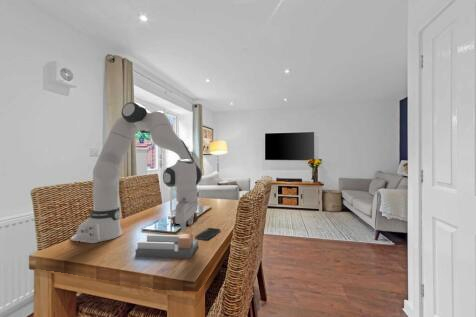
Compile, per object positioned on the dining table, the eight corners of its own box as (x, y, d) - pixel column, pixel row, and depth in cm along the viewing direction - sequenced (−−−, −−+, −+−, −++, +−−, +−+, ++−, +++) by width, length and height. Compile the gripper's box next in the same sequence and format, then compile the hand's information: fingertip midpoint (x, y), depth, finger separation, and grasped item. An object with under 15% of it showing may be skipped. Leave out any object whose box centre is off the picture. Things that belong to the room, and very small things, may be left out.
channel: (135, 256, 86) (135, 244, 86) (149, 244, 98) (149, 233, 98) (190, 257, 85) (190, 245, 85) (197, 245, 97) (197, 234, 97)
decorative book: (197, 218, 140) (197, 211, 140) (188, 226, 124) (188, 218, 124) (180, 218, 141) (180, 210, 141) (170, 225, 125) (170, 217, 125)
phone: (194, 237, 105) (208, 227, 119) (194, 239, 105) (208, 229, 119) (208, 239, 102) (221, 229, 116) (208, 241, 102) (221, 231, 116)
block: (178, 247, 89) (177, 238, 89) (181, 242, 94) (181, 233, 94) (189, 247, 88) (189, 238, 88) (192, 243, 93) (192, 234, 93)
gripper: (186, 201, 81) (187, 236, 81) (199, 192, 102) (200, 220, 102) (170, 201, 82) (171, 236, 82) (186, 192, 102) (187, 220, 102)
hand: (187, 227), depth 92 cm, fingers open, 8 cm apart
